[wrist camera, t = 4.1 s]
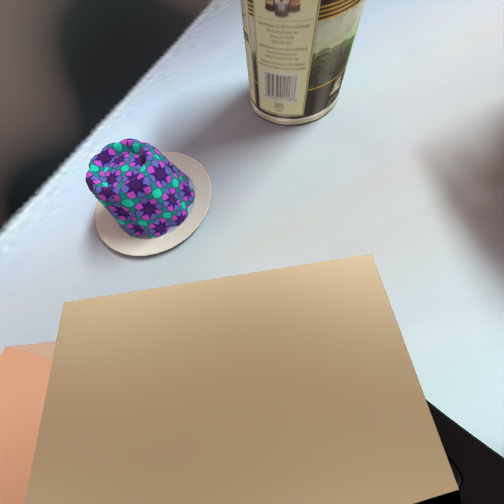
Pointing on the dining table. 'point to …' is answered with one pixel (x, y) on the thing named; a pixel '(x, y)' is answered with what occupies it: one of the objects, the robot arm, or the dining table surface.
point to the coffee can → (297, 55)
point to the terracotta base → (21, 414)
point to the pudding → (146, 196)
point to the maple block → (239, 396)
